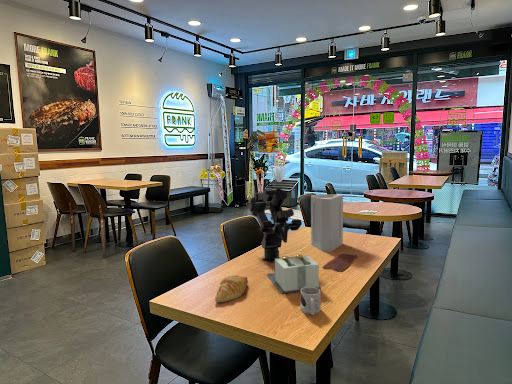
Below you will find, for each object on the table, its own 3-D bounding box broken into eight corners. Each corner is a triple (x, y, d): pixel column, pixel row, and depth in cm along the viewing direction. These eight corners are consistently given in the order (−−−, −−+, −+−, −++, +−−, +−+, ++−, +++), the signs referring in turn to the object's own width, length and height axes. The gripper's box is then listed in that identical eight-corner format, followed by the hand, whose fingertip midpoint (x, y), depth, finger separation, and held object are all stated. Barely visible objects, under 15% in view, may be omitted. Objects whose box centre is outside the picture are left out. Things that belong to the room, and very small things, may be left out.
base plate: (266, 275, 148) (266, 250, 146) (301, 271, 151) (301, 247, 150) (281, 293, 128) (280, 265, 127) (320, 288, 132) (320, 261, 131)
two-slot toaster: (274, 279, 140) (274, 258, 139) (306, 276, 143) (306, 255, 142) (284, 291, 128) (283, 268, 127) (318, 287, 131) (318, 264, 130)
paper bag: (319, 240, 202) (318, 193, 199) (343, 243, 194) (343, 194, 191) (304, 248, 187) (304, 197, 183) (330, 252, 178) (330, 199, 175)
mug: (299, 305, 119) (299, 287, 118) (319, 305, 119) (318, 286, 118) (302, 319, 109) (302, 299, 108) (323, 319, 109) (323, 299, 108)
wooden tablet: (343, 274, 149) (343, 270, 149) (321, 270, 154) (321, 266, 154) (360, 257, 171) (360, 253, 171) (341, 254, 177) (341, 251, 176)
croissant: (223, 315, 120) (232, 298, 117) (202, 298, 123) (209, 281, 120) (251, 291, 138) (259, 276, 136) (232, 277, 142) (239, 262, 139)
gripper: (263, 203, 148) (271, 234, 140) (301, 201, 155) (311, 231, 146) (256, 216, 157) (264, 247, 148) (292, 215, 163) (302, 244, 155)
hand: (285, 242), depth 149 cm, fingers closed
